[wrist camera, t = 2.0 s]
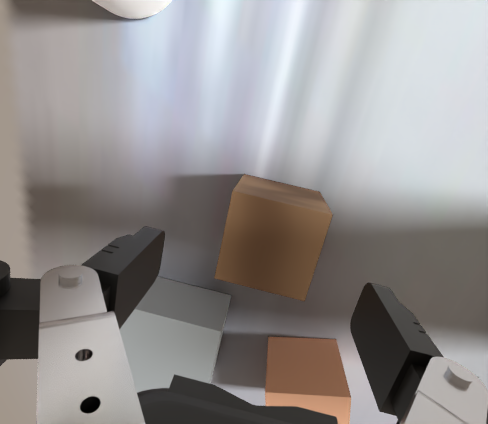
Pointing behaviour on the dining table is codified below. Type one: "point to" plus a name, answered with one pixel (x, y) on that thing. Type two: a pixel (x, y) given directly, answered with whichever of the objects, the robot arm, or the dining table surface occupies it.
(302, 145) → the dining table surface
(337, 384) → the terracotta cube
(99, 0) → the can
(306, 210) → the walnut cube
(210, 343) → the base block
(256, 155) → the dining table surface
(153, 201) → the dining table surface
